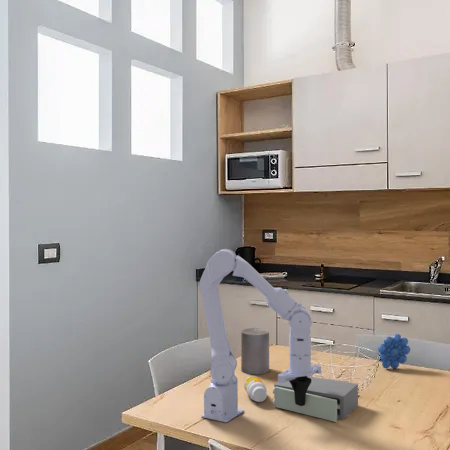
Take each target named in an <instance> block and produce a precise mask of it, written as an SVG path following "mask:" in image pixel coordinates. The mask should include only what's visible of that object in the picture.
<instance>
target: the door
mask: <svg viewBox="0 0 450 450" xmlns="http://www.w3.org/2000/svg"><path fill="white" fill-rule="evenodd" d="M272 394H273V395H274V394H275V399H274V398H272V406H274V405H275V406H274V407H275V408H279V409H283V410H287V411H291V412H294V413H298V414H302V415H305V416H306V415H307V416H310V417H313V418H314V417H315V418H318V419H323V420H327V421H331V422H334V423H336V422H337V421H338V418H337V400H335V399H330V398H326V397H321V396H317V395H312V394H308V393H306V398H305V405H303V406H299V405H296V404H295V394H294V390H290V389H285V388H281V387H275V388H274V387H272Z"/></svg>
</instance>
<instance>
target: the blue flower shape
mask: <svg viewBox="0 0 450 450" xmlns="http://www.w3.org/2000/svg"><path fill="white" fill-rule="evenodd" d="M408 344H409V340H408V338H407V337H402V336H401V334H400V333H395V334H394V335H393V336H392V337H391V336H386V337H385V338H384V340H383V343H381V344H379V345H378V347H377V351H378V353H379V354H378V355H380V357H381V360H380V362H379V363H382V368H384V369H388V368H391V369H392V368H393V369H397V368H398V367H399V366H400V364H405V363H406V362H407V360H408V358H407V355H409V354H410V352H411V347H410V346H409V345H408Z"/></svg>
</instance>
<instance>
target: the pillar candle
mask: <svg viewBox="0 0 450 450" xmlns="http://www.w3.org/2000/svg"><path fill="white" fill-rule="evenodd" d="M240 333H241V335H240V339H241V342H240V343H241V345H240V346H241V349H240V352H241V355H240V356H241V359H240V360H241V361H240V362H241V363H240V364H241V366H240V367H241V370H240V371H241V372H243V373H244V374H248V375H263V374H266V373H268V372H269V371H270V330H268V329H266V328H261V327H260V328H259V327H251V328H243V329H242V330H241V331H240Z"/></svg>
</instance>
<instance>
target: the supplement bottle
mask: <svg viewBox="0 0 450 450" xmlns="http://www.w3.org/2000/svg"><path fill="white" fill-rule="evenodd" d="M243 387H244V390H245V392H246V394H247V395H248V397H249V398H250V399H251V400H253V401H255V402H258V403H261V402H264V401H265V400H266V398H267V395H268V393H267V392H268V391H267V386H266V385H265V384H264V382H263V381H262V379H260V377H259V376H256V375H251V376H248V377H247V378H246V379H245V381H244V383H243Z"/></svg>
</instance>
